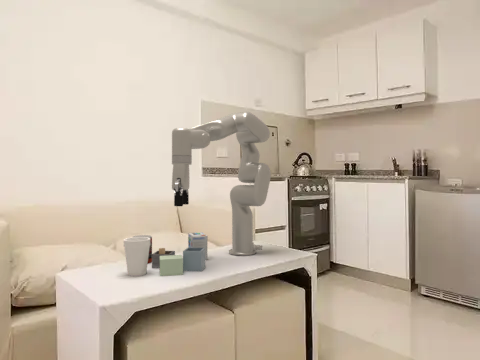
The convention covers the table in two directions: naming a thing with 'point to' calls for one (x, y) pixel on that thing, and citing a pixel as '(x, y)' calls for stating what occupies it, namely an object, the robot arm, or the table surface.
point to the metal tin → (157, 258)
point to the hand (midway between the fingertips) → (181, 205)
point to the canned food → (149, 248)
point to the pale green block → (171, 265)
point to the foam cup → (137, 255)
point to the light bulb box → (198, 241)
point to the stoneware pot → (193, 259)
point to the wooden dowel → (161, 250)
